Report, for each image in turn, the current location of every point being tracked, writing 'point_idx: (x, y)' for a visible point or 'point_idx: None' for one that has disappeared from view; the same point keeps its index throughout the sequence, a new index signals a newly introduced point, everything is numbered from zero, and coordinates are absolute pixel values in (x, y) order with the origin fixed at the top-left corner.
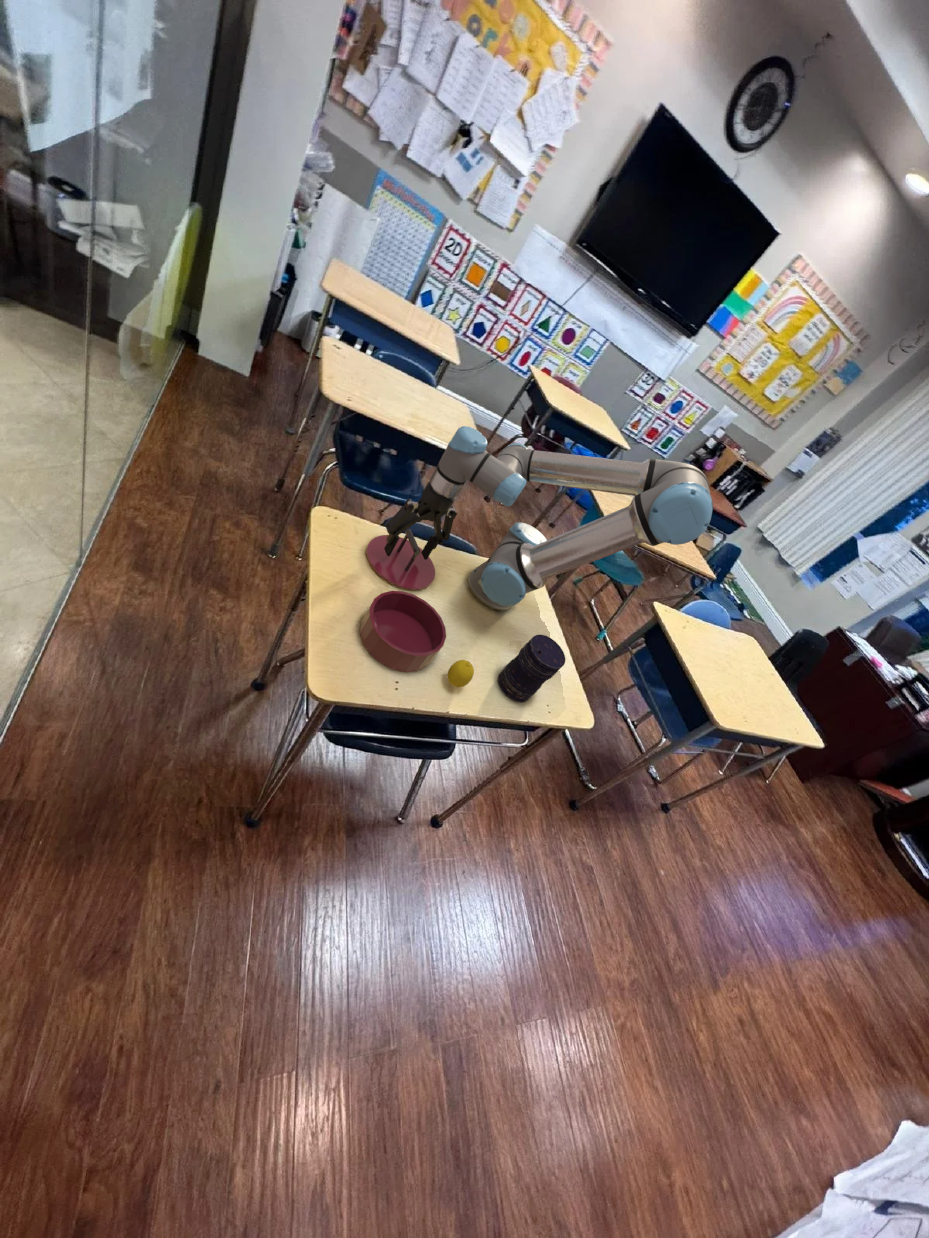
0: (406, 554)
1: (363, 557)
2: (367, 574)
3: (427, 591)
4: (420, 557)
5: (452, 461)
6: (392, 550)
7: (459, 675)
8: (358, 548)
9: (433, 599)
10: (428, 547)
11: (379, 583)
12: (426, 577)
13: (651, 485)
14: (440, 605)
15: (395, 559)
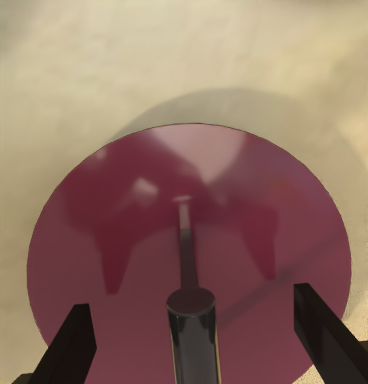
0: (159, 330)
1: None
2: (361, 192)
3: (89, 137)
4: None
5: None
6: (314, 309)
7: None
8: (354, 322)
9: (67, 89)
10: (66, 380)
11: (322, 149)
12: (84, 210)
13: None
14: (34, 52)
15: (223, 290)
